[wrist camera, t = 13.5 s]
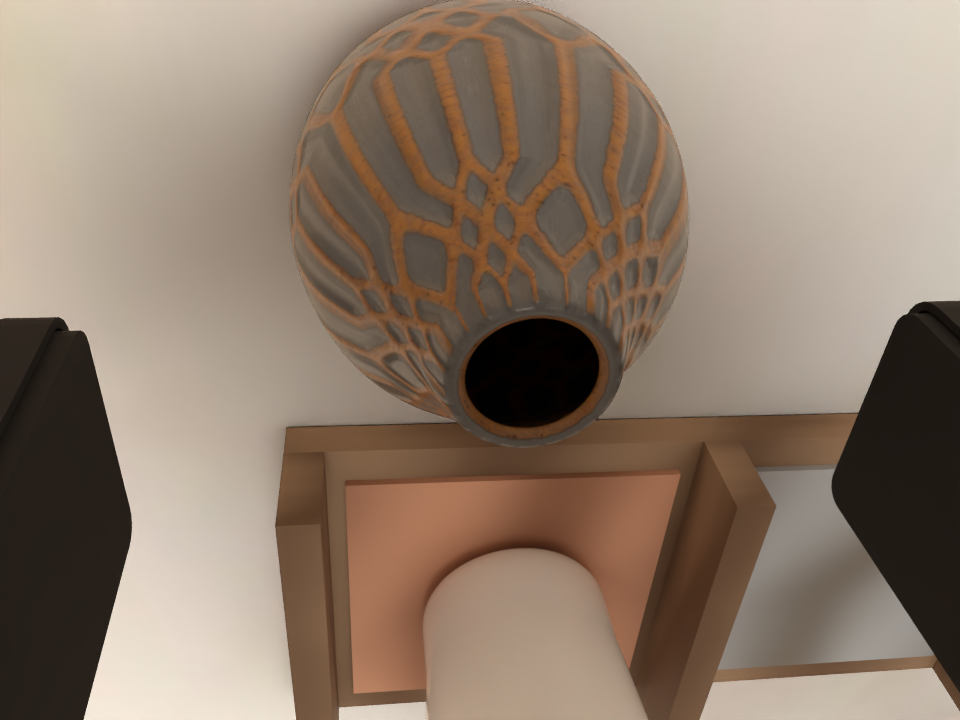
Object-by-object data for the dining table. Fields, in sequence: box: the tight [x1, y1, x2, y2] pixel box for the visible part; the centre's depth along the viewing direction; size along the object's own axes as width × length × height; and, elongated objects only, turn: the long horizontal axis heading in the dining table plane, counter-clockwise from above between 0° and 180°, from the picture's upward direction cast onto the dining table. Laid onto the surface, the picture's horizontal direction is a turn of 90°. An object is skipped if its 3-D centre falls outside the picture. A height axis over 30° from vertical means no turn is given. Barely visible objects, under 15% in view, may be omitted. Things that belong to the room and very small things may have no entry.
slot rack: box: [275, 414, 960, 720], centre depth 25 cm, size 23×11×4 cm, turn 87°
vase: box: [289, 0, 689, 448], centre depth 15 cm, size 7×7×9 cm
